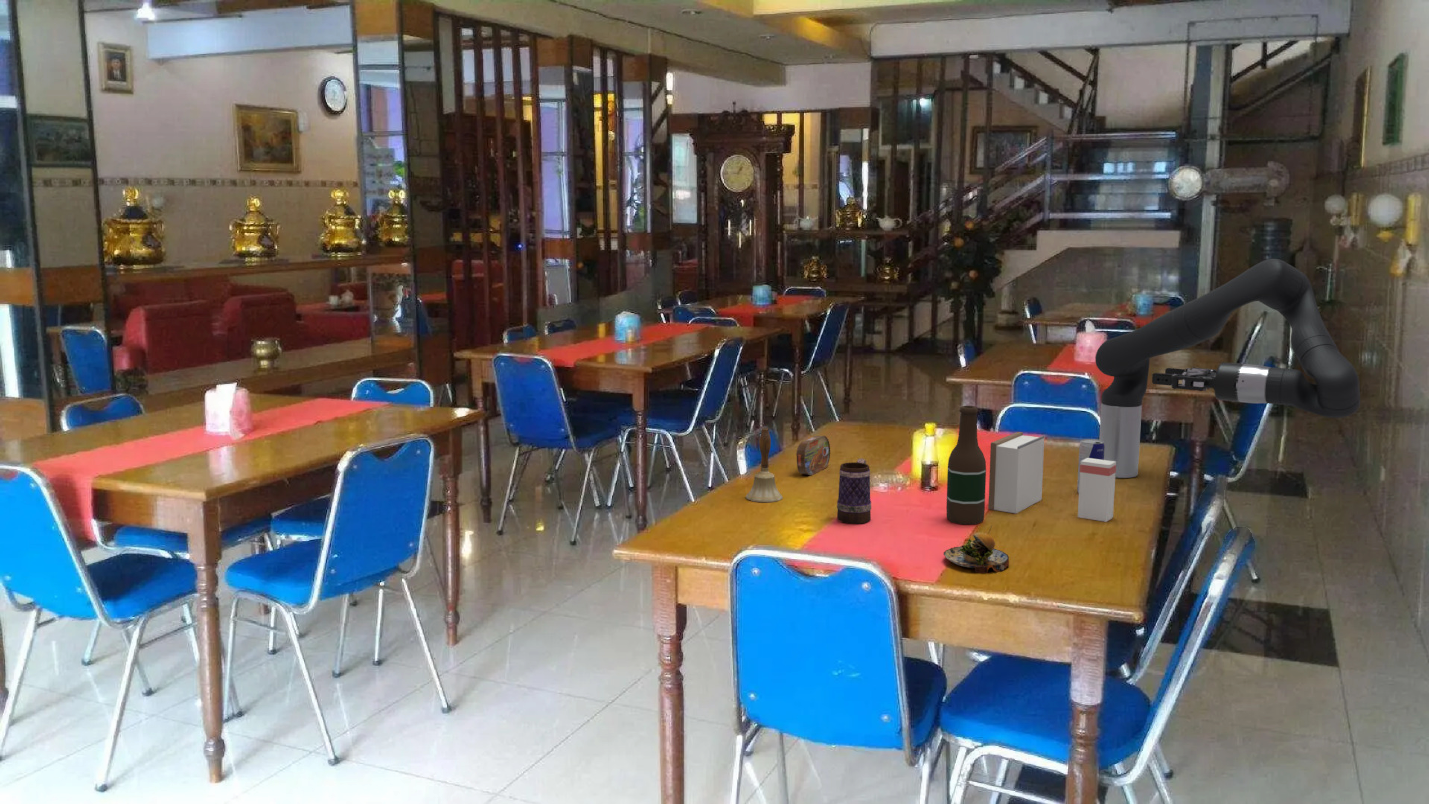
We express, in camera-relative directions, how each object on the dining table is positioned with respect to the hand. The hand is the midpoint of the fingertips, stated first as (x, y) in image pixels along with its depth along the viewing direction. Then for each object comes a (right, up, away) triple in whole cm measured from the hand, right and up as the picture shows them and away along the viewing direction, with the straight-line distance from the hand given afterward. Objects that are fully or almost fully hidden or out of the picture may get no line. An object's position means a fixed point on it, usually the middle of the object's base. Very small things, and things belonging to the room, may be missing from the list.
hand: (1159, 375), depth 232 cm
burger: (-43, -35, -24) cm, 61 cm away
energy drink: (-6, -26, +25) cm, 37 cm away
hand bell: (-80, -27, +23) cm, 87 cm away
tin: (-67, -23, +47) cm, 85 cm away
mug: (-61, -30, +6) cm, 68 cm away
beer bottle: (-39, -30, +4) cm, 49 cm away
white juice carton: (-11, -29, +5) cm, 32 cm away
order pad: (-25, -28, +15) cm, 40 cm away
